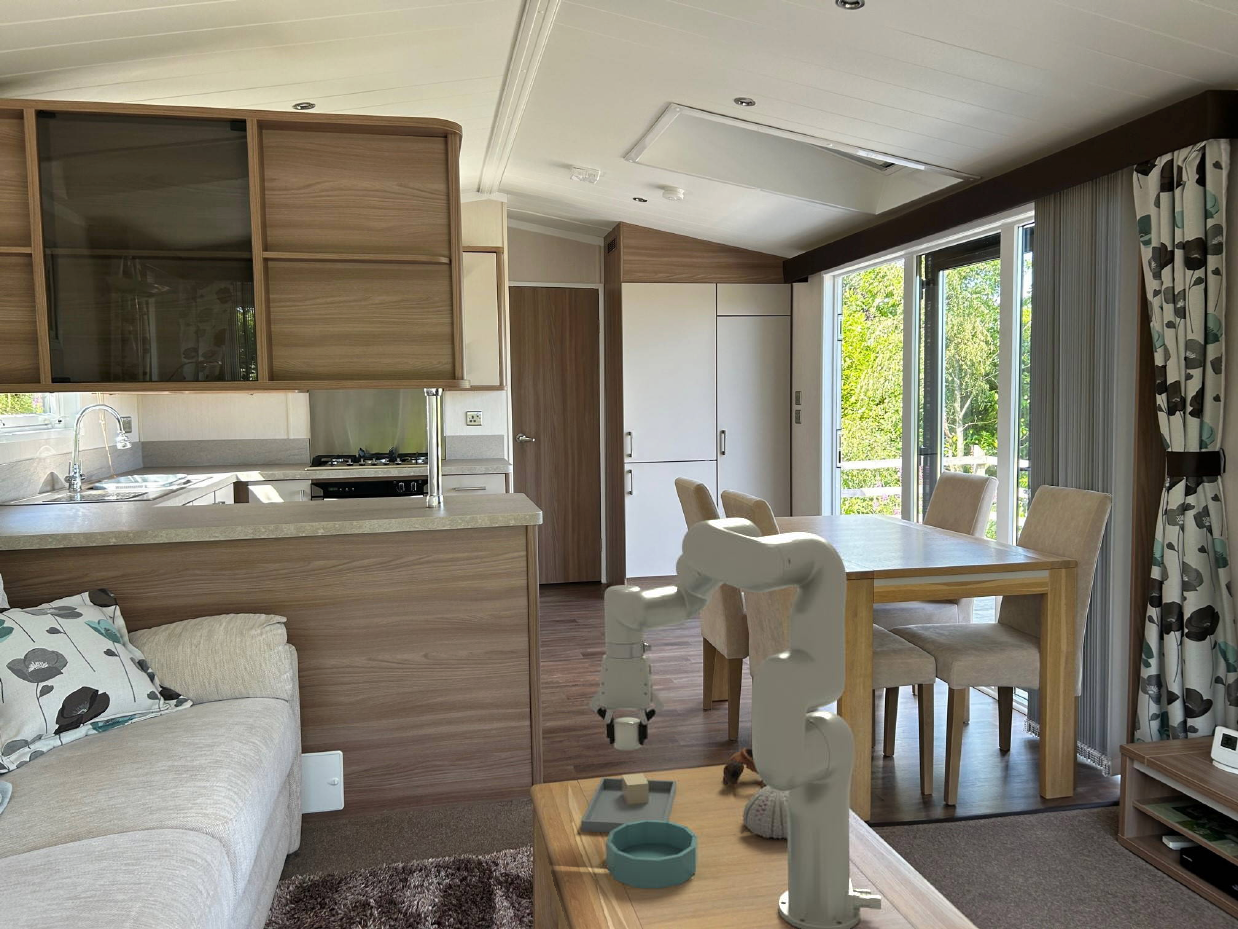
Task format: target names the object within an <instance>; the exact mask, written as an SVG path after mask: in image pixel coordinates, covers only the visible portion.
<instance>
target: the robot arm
mask: <svg viewBox="0 0 1238 929" xmlns="http://www.w3.org/2000/svg"><path fill="white" fill-rule="evenodd" d="M683 536H684V537H683V539H682V542H681V543H682V544H681V550H682V551H681V554H680V555H679V557H678V558H677V560H676V564H675V572H676V575H677V579H678V580H677V581H675V582H673V583H672V584H670V585H664V586H658V587H653V588H648V589H642V588H640V587H639V586H637V585H631V584H625V585H624V584H622V585H621V584H620V585H619V584H618V585H612V586H609V587H608V588H606V589H605V592H604V597H603V598H604V600H603V601H604V629H605V630H604V631H605V632H604V633H605V636H604V637H605V638H604V640H605V654H604V655H603V656H602V660H601V665H600V666H601V667H600V676H599V677H600V678H599V689H598V691H597V693H596V694H595V695H594V696H593V697H592V699H591V700H590V701H589V703H588V707H590V708H591V709H592V710H593V711H594V712H596V713H597V715H598V716H599V717H600V718H601V719H602V720H603V721H604V723H605V724H606V739H609V745H614V720H616V719H615V717H614V714H615V711H616V710H637V713H638V717H639V720H640V724H639V744H640V745H641V746H644V743H646V742H645V741H646V740H648V739H649V729H648V727H649V725H648V723H649V721H651V719H653V718H654V717H655V716H656V715H657V713H659V712H660V711H662V710H663V709H664V707H665V703H664V701H663V700H662V698H661V697H660V696H659V695H658V693H657V692H655V690H654V684H653V674H652V665H651V661H650V657H649V655H648V654H646V652H652V648H653V647H652V646H653V644H652V643H648V642H646V641H645V632H648V631H653V630H657V629H660V628H661V629H662V628H665V627H670V626H675V625H679V624H683V623H684V622H687V621H688V620H689V619H691V618H692V617H694V616H695V615H697V614H699V612H701V611H702V610H703V609H706V607H707V606H708V605H709V604H710V602H711V600H712V598H713V595H714V591H715V590H717V589H718V588H719V587H721V586H722V585H724V584H727V585H728V586H732V587H734V588H737V589H740V590H743V591H746V592H750V593H751V592H752V593H767V592H771V591H778V590H781V589H786V588H791V587H796V588H797V592H796V596H795V598H794V601H793V603H792V607H791V609H790V613H789V621H788V626H789V627H788V628H789V638H788V639H789V640H788V647H787V649H786V650H785V651H782V652H778V653H776V654H772V655H770V656H768V657H767V658H765V659H764V660H762V661H761V663H760V664H759V665H758V667H757V669H756V671H755V673H754V675H753V678H752V682H751V749H752V752H753V757H752V758H753V759H752V760H753V761H754V764H755V767H756V770H757V772H758V774H759V775H758V774H757V775H758V776H759V777H760V779H761V780H763V781H764V783H765V784H766V785H765V786H769V787H771V788H772V789H775V790H778V791H789V792H788V803H787V830H788V839H787V890H786V891H785V892H784V893H782V894H781V895H780V897H779V899H778V905H777V906H778V912H779V914H780V916H781V918H783V919H784V920H785V921H786V922H787V923H789V924H790V925H792V926H793V927H796V928H798V929H800V928H801V929H852V928H853V927H855V926H856V925H857V924H858V923H859V921H860V919H861V909H862V908H863V909H870V910H881V909H882V898H881V895H872V890H871V889H870V888H856V887H855V886H853V885H852V884H853V883H852V880H851V876H850V873H851V872H850V871H851V870H850V865H851V864H850V795H851V794H850V793H851V792H850V791H851V780H852V774H853V768H854V762H855V755H856V745H855V744H856V742H855V737H854V735H853V731H852V729H851V727H850V726H849V724H848V722H847V721H846V720H845V719H844V718H842V716H840V715H838V714H836V713H835V712H831V711H827V710H818V709H821V708H823V707H826V706H828V705H830V704H833V703H836V701H838V700H839V699H840V698H841V697H842V695H843V694H844V692H845V685H846V627H845V624H846V622H845V621H846V620H845V619H846V618H845V617H846V615H845V614H846V602H847V601H846V600H847V586H848V584H847V572H846V568H845V565H844V562H843V559H842V557H841V555H840V553H839V552H838V551H837V549H836V548H835V546H833V544H831V543H830V542H829V541H828V540H826V539H825V538H824V537H821V536H820V535H817V534H813V533H809V532H802V531H801V532H799V531H797V532H796V531H795V532H786V533H779V534H774V535H773V534H772V535H765V536H763V535H762V532H761V530H760V528H759V527H758V526H757V525H756V524H755V523H754V522H752V521H751V520H748V519H746V518H743V517H742V518H741V517H725V518H719V519H717V518H716V519H709V520H703V521H702V520H701V521H699V522H696V523H695V524H693V525H692V526H691V527H689V529H688V530H687V531H686V533H685V534H684V535H683ZM651 703H654V706H652V707H651ZM650 707H651V708H650ZM648 708H650V709H649V710H648ZM815 710H816V711H815ZM817 710H818V711H817Z"/></svg>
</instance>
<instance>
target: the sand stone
mask: <svg viewBox="0 0 1238 929" xmlns="http://www.w3.org/2000/svg"><path fill="white" fill-rule="evenodd" d="M621 778H622V794H623V796H624V798H625V800H626V802H627V804H628V805H629V804H639V803H649V789H648V782H647V780H648V779H647V778H646V776H645V775H644V773H643V772H641V773H631V774H621ZM646 779H647V780H646Z"/></svg>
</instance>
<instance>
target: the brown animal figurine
mask: <svg viewBox="0 0 1238 929" xmlns="http://www.w3.org/2000/svg"><path fill="white" fill-rule="evenodd" d="M752 758H753V752H752V748H750V747H743V748H742V749H741V751H738V752H735V753H733V755H732V756H730V757H729V759H728V761H727V764H726V765H725V766H724V767H723V770H722V773H723V777H722V781H723V783H724V785H725V784H726V785H725V786H727V785H731V786H737V784H738V781H739V779H740V777H741V775H742V774H743V773H744V769H747V770H750V771H751V772H753V773H755V774H756V775H758V776H759V774H758V772H757V770H756V767H755V764H754V759H752ZM745 766H746V767H745ZM766 786H767V785H766V784H765V783H764V781H763V780H762V779H761V780H760V784H759V787H760V788H761V789H763V787H766Z"/></svg>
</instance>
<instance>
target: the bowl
mask: <svg viewBox="0 0 1238 929" xmlns="http://www.w3.org/2000/svg"><path fill="white" fill-rule="evenodd" d="M605 848H606V849H605V850H606V852H605V856H606V858H605V859H606V862H605V863H606V867H607V868H606V870H607V872H609V874H610V875H611V876H612V878H613V879H614V880H615V881H616V882H619V883H622V884H624V885H628V886H630V887H633V888H638V889H639V888H640V889H641V888H642V889H656V890H661V889H665V888H670V887H673V886H680V885H683V884H684V883H685V882H687V881H688V880H690V879H692V877H695V876H696V875H695V874H696V873H695V872H696V871H697V866H698V861H699V860H698V858H699V856H698V853H699V852H698V835H697V834H696V833H695V832H693V830H691V829H690V828H689V827H688V826H685V825H683V824H679V823H677V822H674V821H670V820H669V821H662V820H641V821H636V822H630V823H625V824H623V825H621V826H619V827H617V828H616V829H614V830H612V831H610V833H609V834H608V836H607V838H606V841H605Z"/></svg>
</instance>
